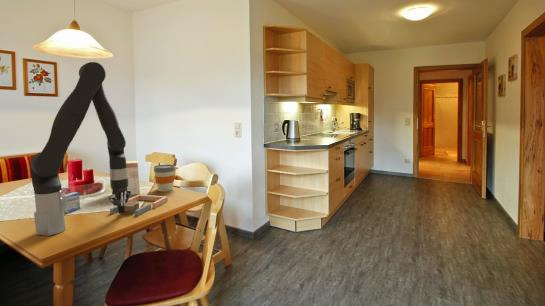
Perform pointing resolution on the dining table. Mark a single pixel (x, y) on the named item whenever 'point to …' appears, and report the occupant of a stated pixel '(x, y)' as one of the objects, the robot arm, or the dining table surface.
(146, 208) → the channel
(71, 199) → the medicine box
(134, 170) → the coffeecake box
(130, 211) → the walnut block
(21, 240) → the dining table surface
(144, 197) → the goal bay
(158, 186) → the reusable coffee cup
